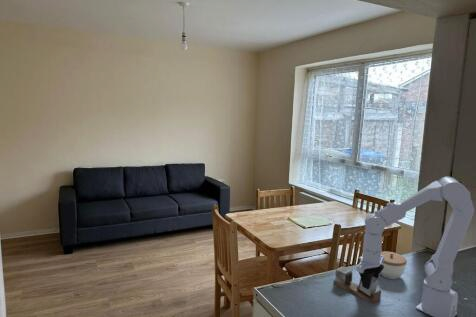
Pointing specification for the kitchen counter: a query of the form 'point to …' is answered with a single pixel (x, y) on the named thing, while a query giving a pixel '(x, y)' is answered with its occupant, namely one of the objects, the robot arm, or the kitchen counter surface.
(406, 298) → the kitchen counter surface
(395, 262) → the lidded jar
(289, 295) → the kitchen counter surface
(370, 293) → the block
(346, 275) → the rail
